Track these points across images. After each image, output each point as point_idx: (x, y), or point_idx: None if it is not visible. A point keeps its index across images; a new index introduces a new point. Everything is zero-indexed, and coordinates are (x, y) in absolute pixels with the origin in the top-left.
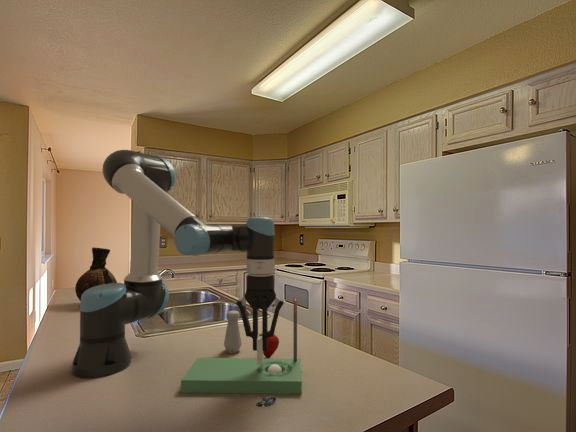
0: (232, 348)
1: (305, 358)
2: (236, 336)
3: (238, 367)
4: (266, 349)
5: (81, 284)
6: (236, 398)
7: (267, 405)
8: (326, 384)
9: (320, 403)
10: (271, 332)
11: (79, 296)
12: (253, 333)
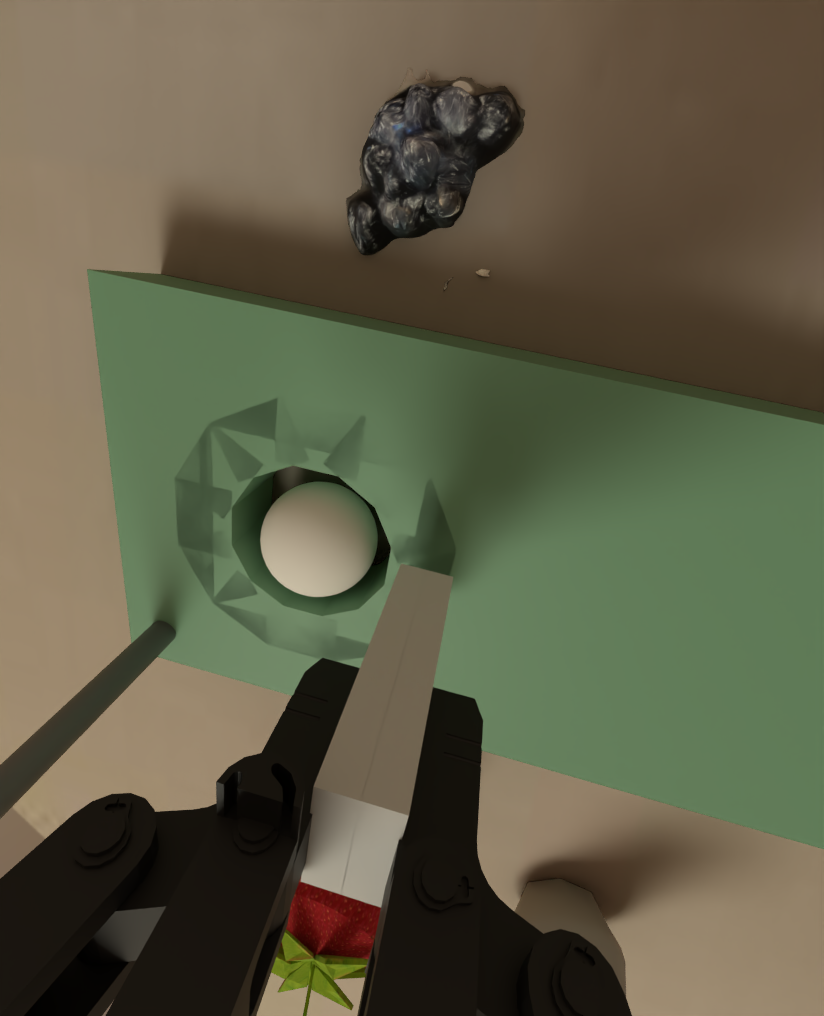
0: (572, 913)
1: (155, 711)
2: None
3: (604, 642)
4: (313, 667)
5: None
6: (670, 283)
7: (425, 83)
8: (13, 381)
9: (20, 87)
10: (65, 884)
11: None
12: (457, 982)
